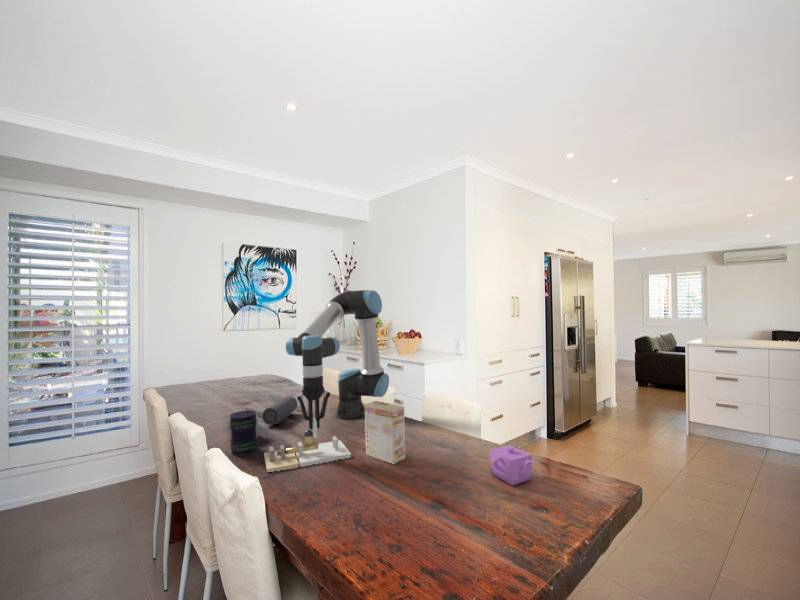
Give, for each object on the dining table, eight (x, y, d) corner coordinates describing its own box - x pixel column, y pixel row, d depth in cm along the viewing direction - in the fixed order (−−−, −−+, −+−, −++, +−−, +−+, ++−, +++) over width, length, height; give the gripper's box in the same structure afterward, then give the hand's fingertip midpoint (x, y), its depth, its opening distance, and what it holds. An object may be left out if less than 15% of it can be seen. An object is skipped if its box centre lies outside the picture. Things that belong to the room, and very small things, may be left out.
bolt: (317, 447, 153) (316, 427, 153) (318, 450, 150) (318, 429, 150) (277, 454, 147) (276, 433, 147) (277, 457, 144) (277, 436, 144)
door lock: (340, 443, 163) (340, 430, 163) (350, 457, 148) (350, 443, 148) (264, 456, 151) (263, 442, 151) (267, 473, 137) (267, 457, 137)
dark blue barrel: (248, 456, 152) (246, 418, 152) (225, 455, 154) (224, 417, 154) (262, 447, 162) (260, 410, 162) (240, 445, 164) (239, 410, 164)
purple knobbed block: (549, 486, 122) (548, 453, 122) (515, 497, 116) (514, 463, 116) (508, 465, 138) (507, 436, 138) (476, 474, 132) (476, 444, 132)
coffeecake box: (406, 458, 146) (404, 406, 146) (393, 465, 141) (391, 410, 141) (378, 449, 156) (377, 400, 156) (365, 454, 151) (363, 404, 151)
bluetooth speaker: (282, 413, 210) (281, 394, 210) (298, 413, 209) (298, 394, 209) (261, 427, 187) (260, 406, 187) (279, 427, 186) (279, 406, 186)
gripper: (327, 372, 157) (329, 431, 157) (294, 375, 152) (295, 436, 152) (331, 375, 150) (333, 437, 150) (297, 379, 145) (298, 443, 145)
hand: (314, 437), depth 151 cm, fingers closed
